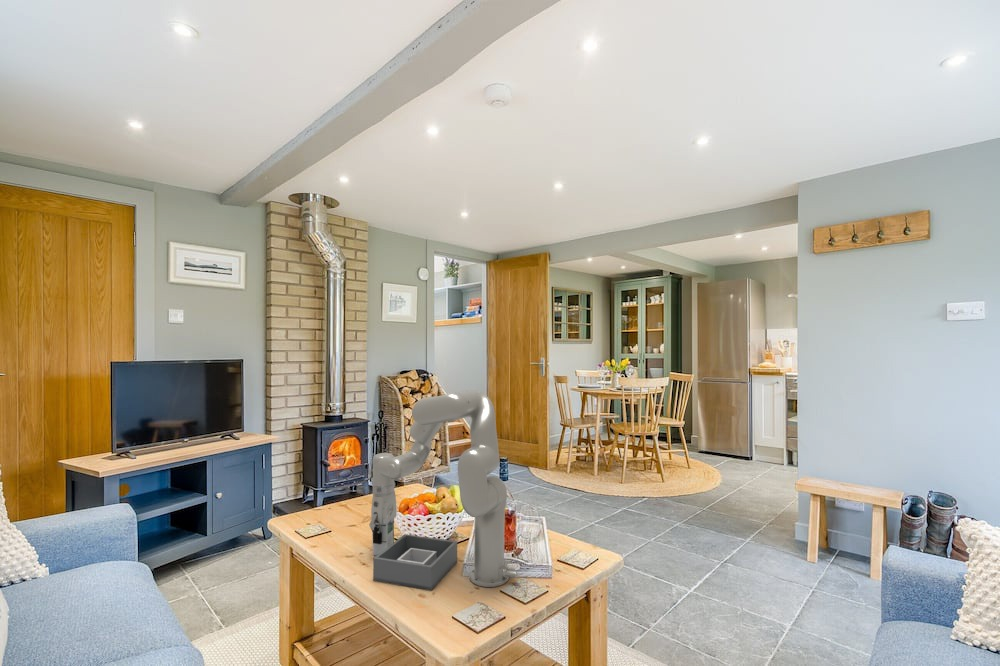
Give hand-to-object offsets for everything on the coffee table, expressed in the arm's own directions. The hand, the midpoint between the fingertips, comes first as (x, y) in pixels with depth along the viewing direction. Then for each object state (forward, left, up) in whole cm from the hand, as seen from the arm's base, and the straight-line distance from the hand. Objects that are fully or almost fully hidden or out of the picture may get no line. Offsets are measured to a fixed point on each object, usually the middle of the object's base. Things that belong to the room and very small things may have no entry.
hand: (383, 538), depth 174 cm
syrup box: (0, 0, -5) cm, 5 cm away
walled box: (-18, +9, -5) cm, 21 cm away
